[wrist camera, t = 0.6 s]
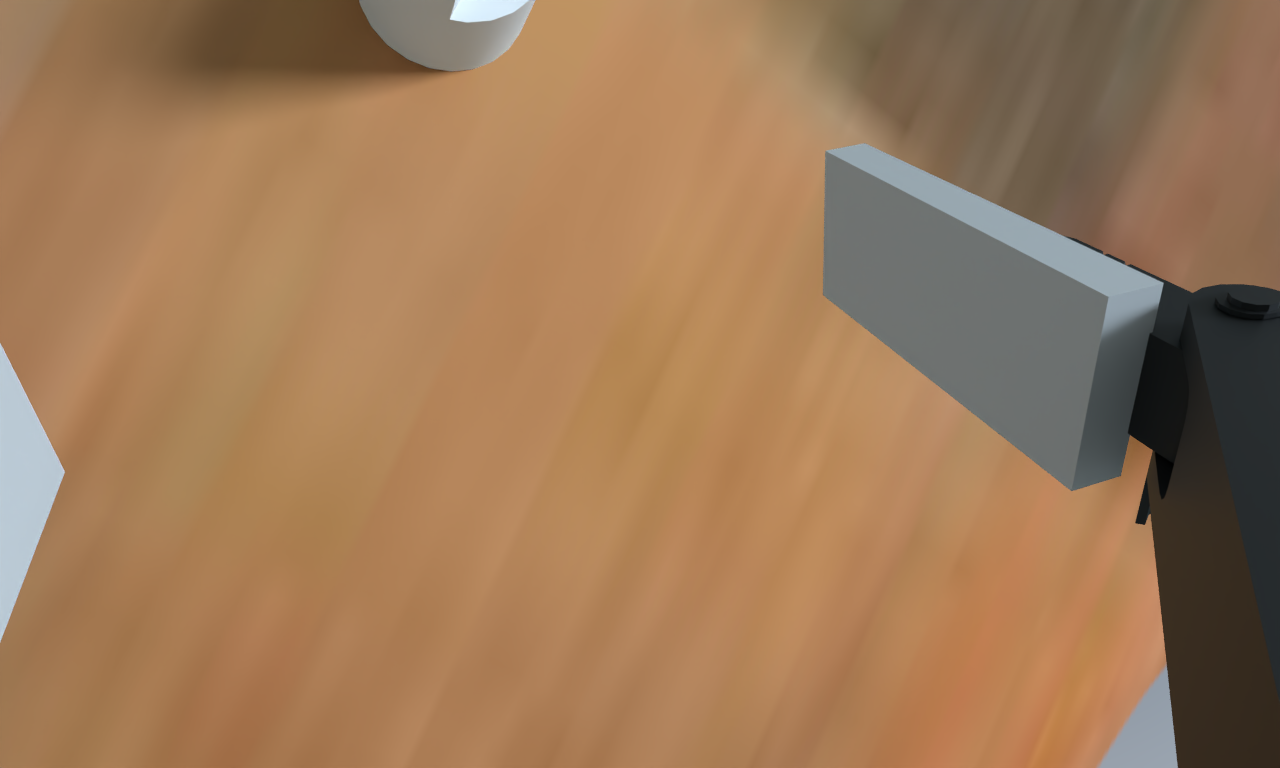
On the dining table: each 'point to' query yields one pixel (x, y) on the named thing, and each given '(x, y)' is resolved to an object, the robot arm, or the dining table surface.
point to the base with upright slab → (448, 29)
